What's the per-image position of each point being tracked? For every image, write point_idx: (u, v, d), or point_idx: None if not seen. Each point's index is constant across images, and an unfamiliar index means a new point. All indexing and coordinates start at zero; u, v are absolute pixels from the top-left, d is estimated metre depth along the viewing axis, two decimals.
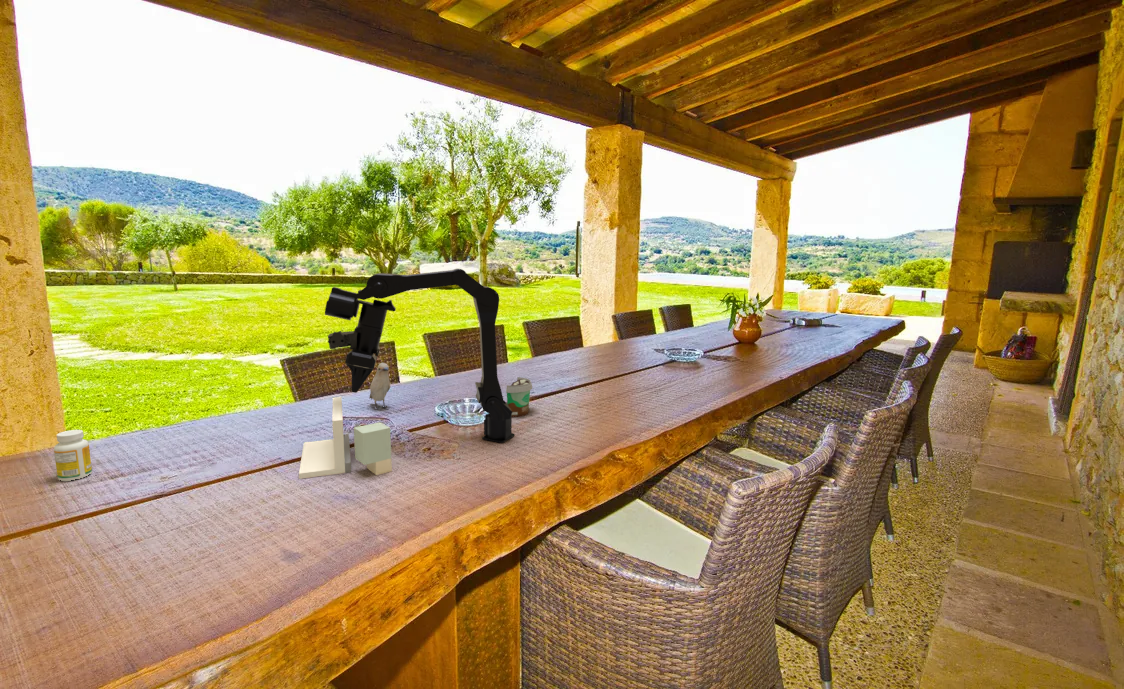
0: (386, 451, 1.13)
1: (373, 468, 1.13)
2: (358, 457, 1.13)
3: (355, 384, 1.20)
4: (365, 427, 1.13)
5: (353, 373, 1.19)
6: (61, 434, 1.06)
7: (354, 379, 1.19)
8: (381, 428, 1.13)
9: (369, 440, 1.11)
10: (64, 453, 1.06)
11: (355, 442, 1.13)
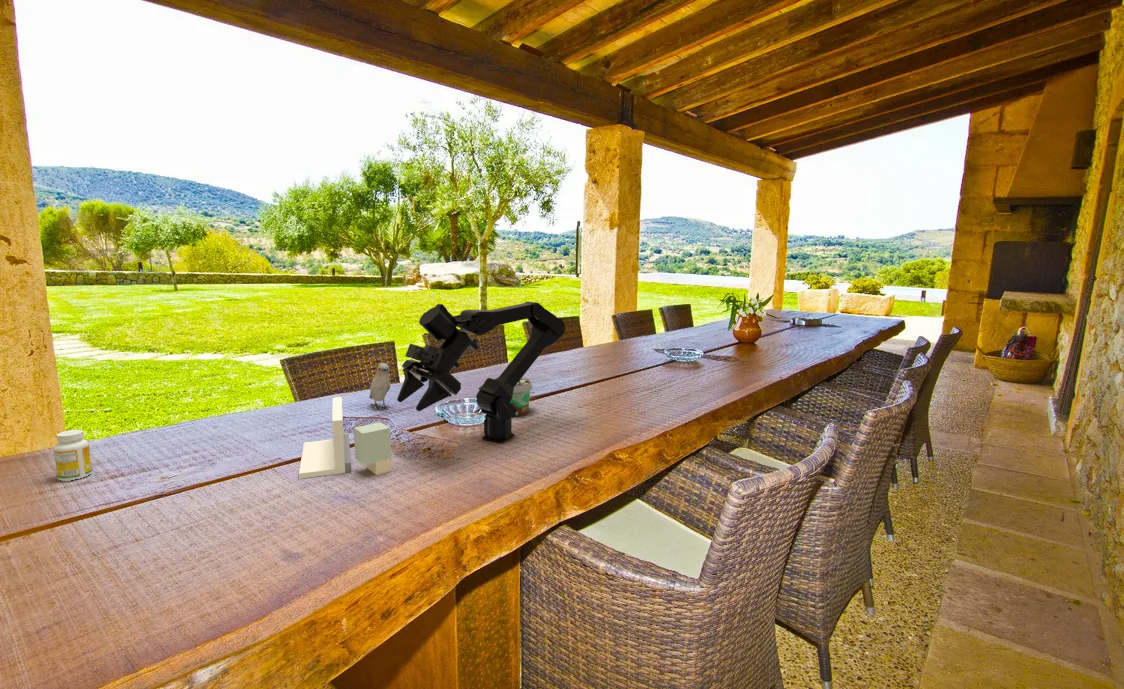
0: (386, 451, 1.13)
1: (373, 468, 1.13)
2: (358, 457, 1.13)
3: (424, 403, 1.15)
4: (365, 427, 1.13)
5: (431, 392, 1.15)
6: (61, 434, 1.06)
7: (427, 398, 1.15)
8: (381, 428, 1.13)
9: (369, 440, 1.11)
10: (65, 453, 1.06)
11: (355, 442, 1.13)
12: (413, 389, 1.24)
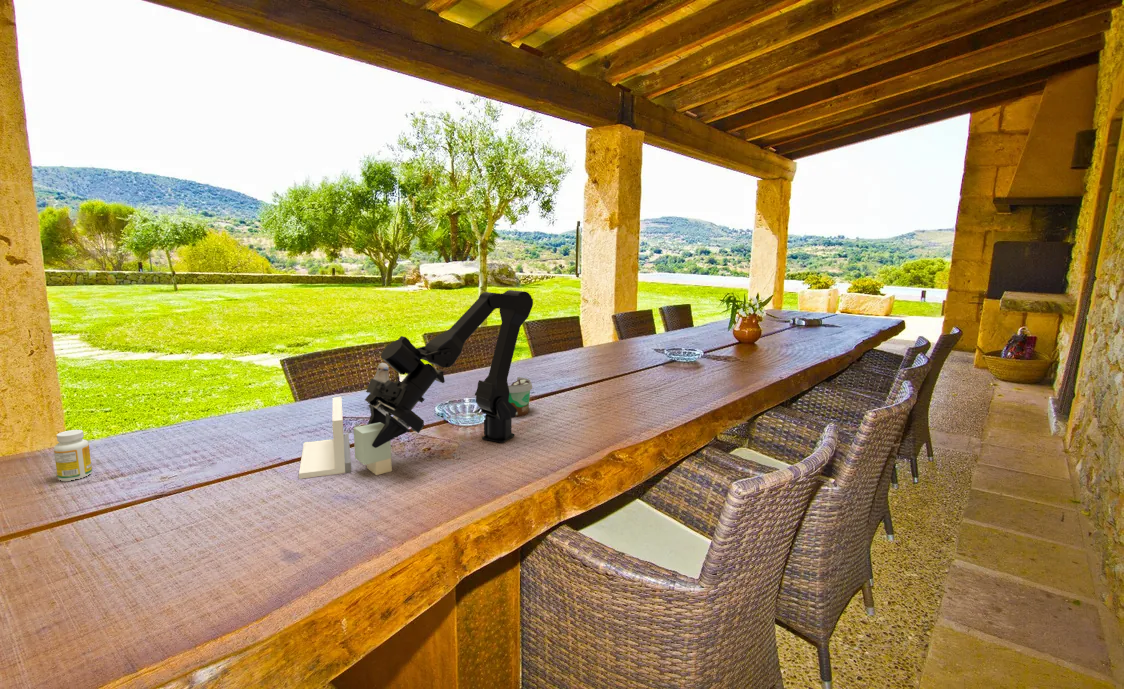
0: (386, 451, 1.13)
1: (373, 467, 1.13)
2: (358, 457, 1.13)
3: (381, 439, 1.11)
4: (365, 427, 1.13)
5: (388, 428, 1.11)
6: (61, 434, 1.06)
7: (384, 434, 1.11)
8: (380, 428, 1.13)
9: (369, 440, 1.10)
10: (65, 453, 1.06)
11: (355, 442, 1.13)
12: None
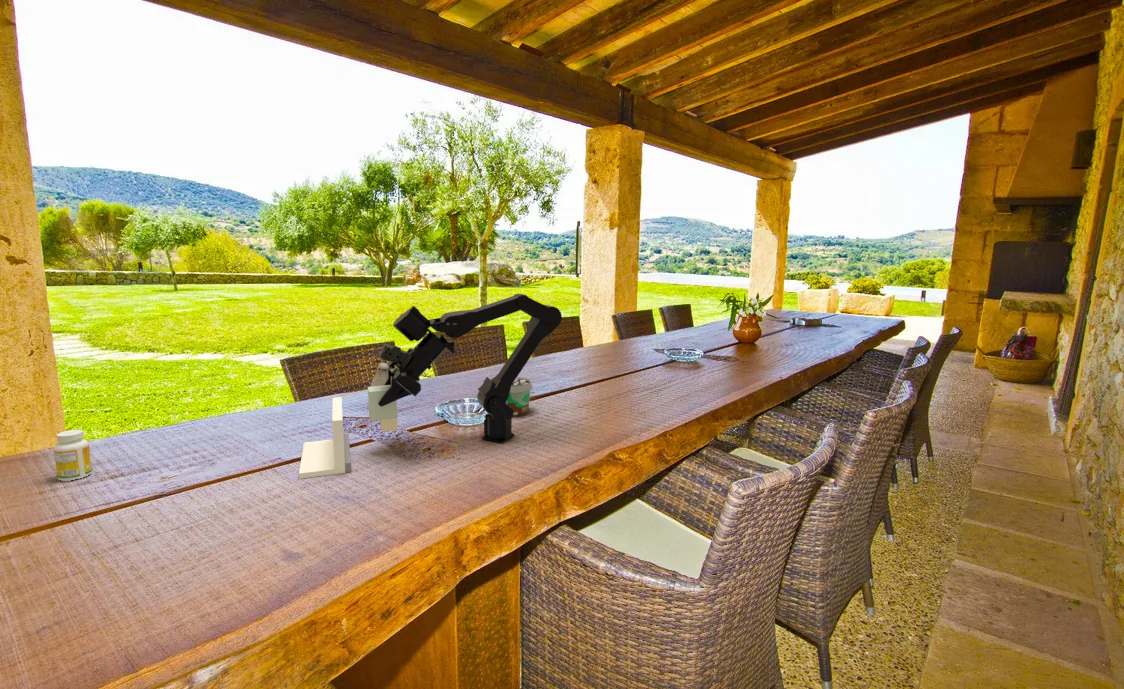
0: (392, 411, 1.23)
1: (381, 425, 1.24)
2: (369, 414, 1.24)
3: (386, 399, 1.21)
4: (376, 387, 1.24)
5: (391, 389, 1.20)
6: (61, 434, 1.06)
7: (388, 394, 1.21)
8: None
9: (375, 399, 1.21)
10: (64, 453, 1.06)
11: (368, 400, 1.24)
12: None
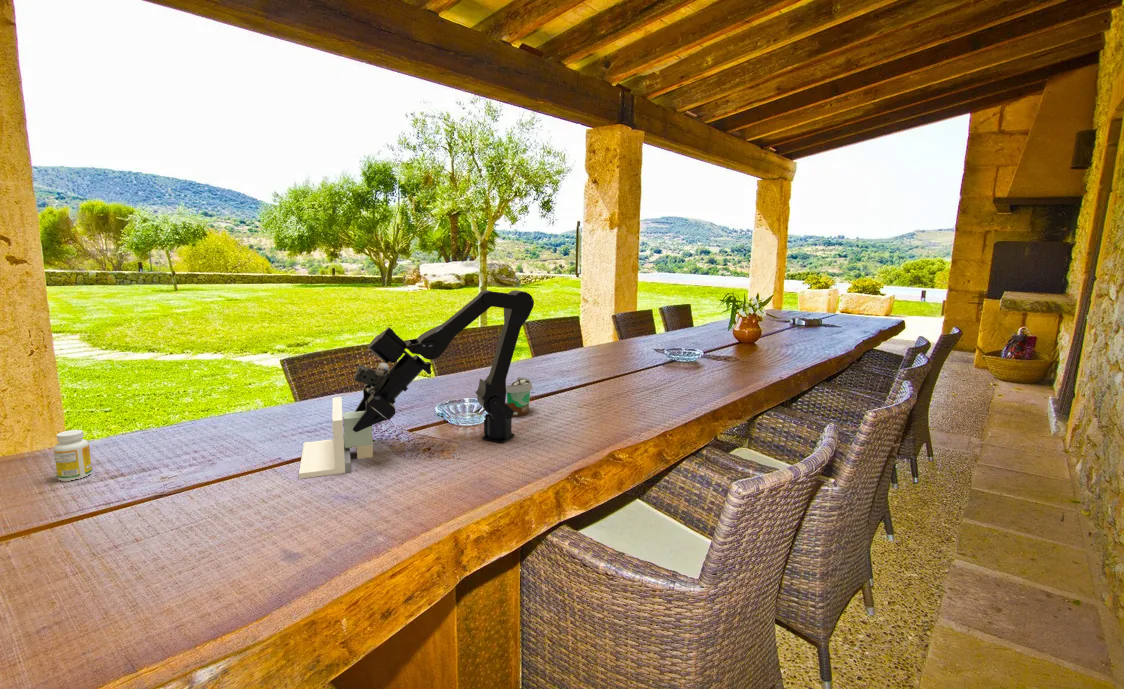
0: (367, 437, 1.22)
1: None
2: None
3: (360, 424, 1.18)
4: (352, 413, 1.23)
5: (366, 414, 1.17)
6: (61, 434, 1.06)
7: (363, 420, 1.17)
8: None
9: (350, 425, 1.20)
10: (64, 453, 1.06)
11: None
12: None
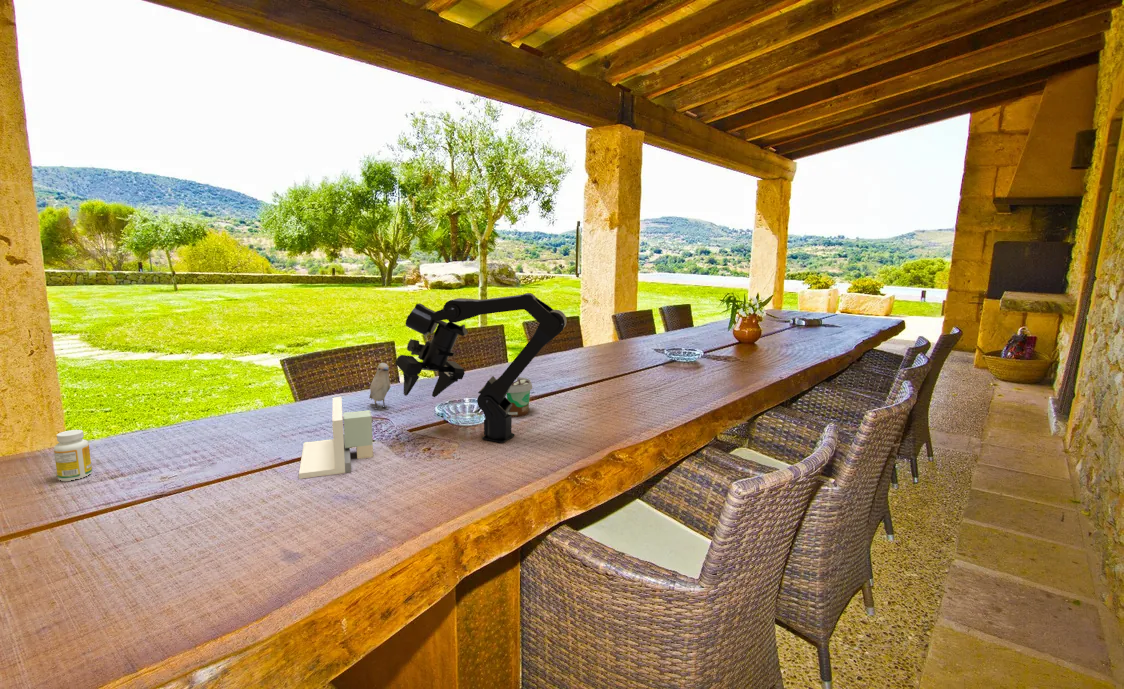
0: (367, 437, 1.22)
1: None
2: None
3: (405, 387, 1.33)
4: (352, 413, 1.23)
5: (404, 376, 1.32)
6: (61, 434, 1.06)
7: (405, 382, 1.33)
8: (363, 415, 1.21)
9: (350, 425, 1.20)
10: (64, 453, 1.06)
11: None
12: (443, 385, 1.40)
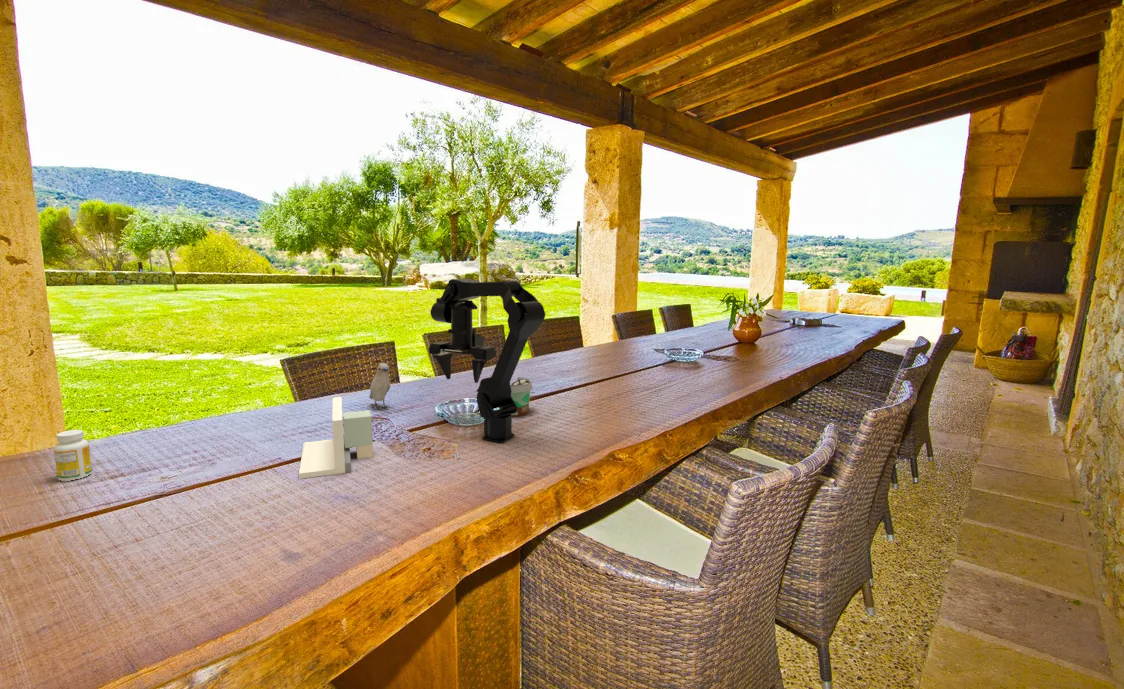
0: (367, 437, 1.22)
1: None
2: None
3: None
4: (352, 413, 1.23)
5: None
6: (61, 434, 1.06)
7: None
8: (363, 415, 1.21)
9: (350, 426, 1.20)
10: (64, 453, 1.06)
11: None
12: None
